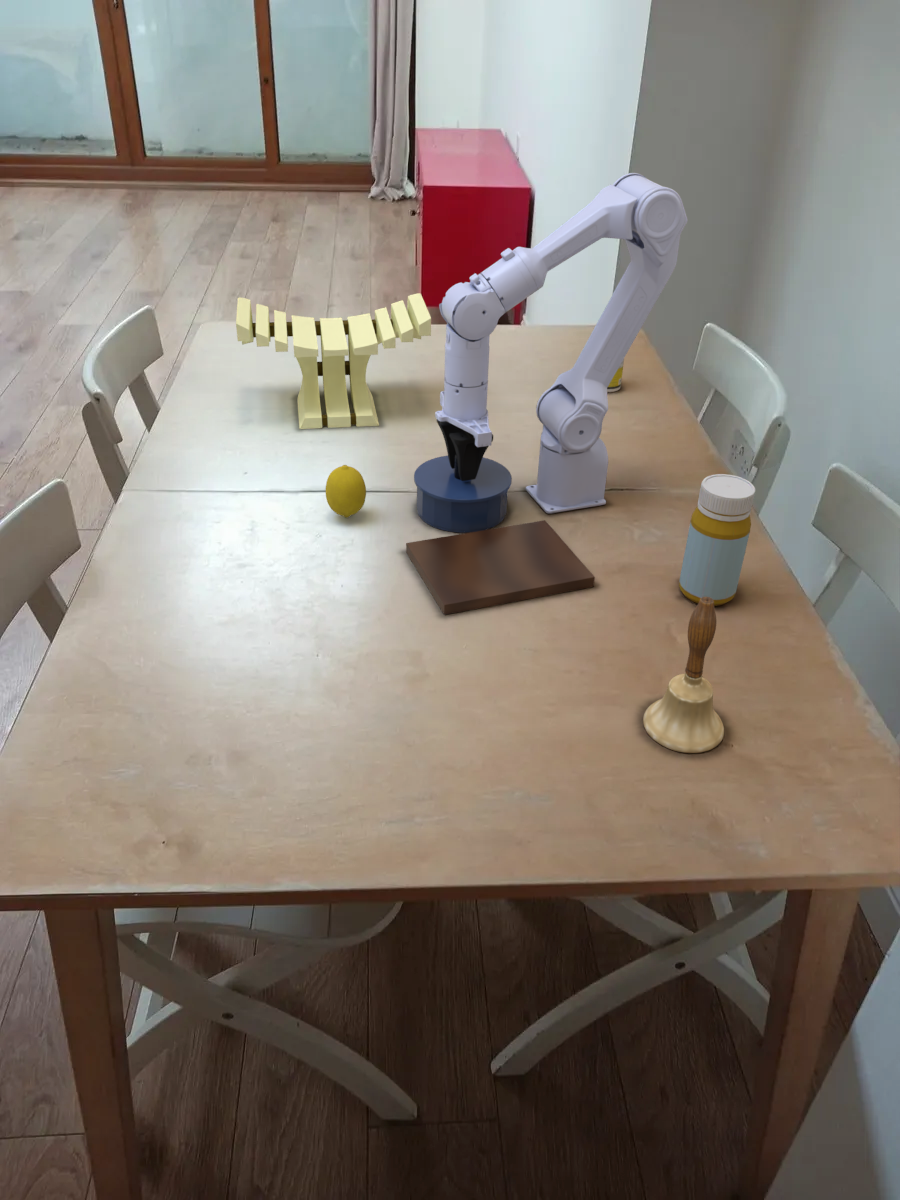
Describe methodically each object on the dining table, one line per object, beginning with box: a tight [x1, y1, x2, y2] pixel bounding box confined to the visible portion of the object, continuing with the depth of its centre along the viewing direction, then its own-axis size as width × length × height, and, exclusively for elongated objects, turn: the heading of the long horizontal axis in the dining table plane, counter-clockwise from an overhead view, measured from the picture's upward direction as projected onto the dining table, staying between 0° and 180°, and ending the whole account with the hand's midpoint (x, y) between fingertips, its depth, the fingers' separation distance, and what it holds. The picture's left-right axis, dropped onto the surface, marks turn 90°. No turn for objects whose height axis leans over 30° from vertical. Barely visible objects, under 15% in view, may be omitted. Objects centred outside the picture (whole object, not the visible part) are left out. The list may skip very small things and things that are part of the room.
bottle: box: [678, 473, 756, 607], centre depth 118 cm, size 7×7×15 cm
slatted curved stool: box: [235, 292, 432, 430], centre depth 161 cm, size 30×16×18 cm, turn 99°
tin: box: [416, 486, 509, 534], centre depth 137 cm, size 13×13×5 cm
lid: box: [413, 453, 513, 503], centre depth 134 cm, size 14×14×4 cm
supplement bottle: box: [607, 358, 625, 393], centre depth 174 cm, size 5×5×10 cm
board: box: [405, 519, 596, 616], centre depth 125 cm, size 20×15×2 cm
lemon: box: [325, 464, 367, 519], centre depth 133 cm, size 6×6×8 cm
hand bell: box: [642, 596, 725, 754], centre depth 97 cm, size 8×8×16 cm
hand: (463, 472), depth 135 cm, fingers open, 3 cm apart
